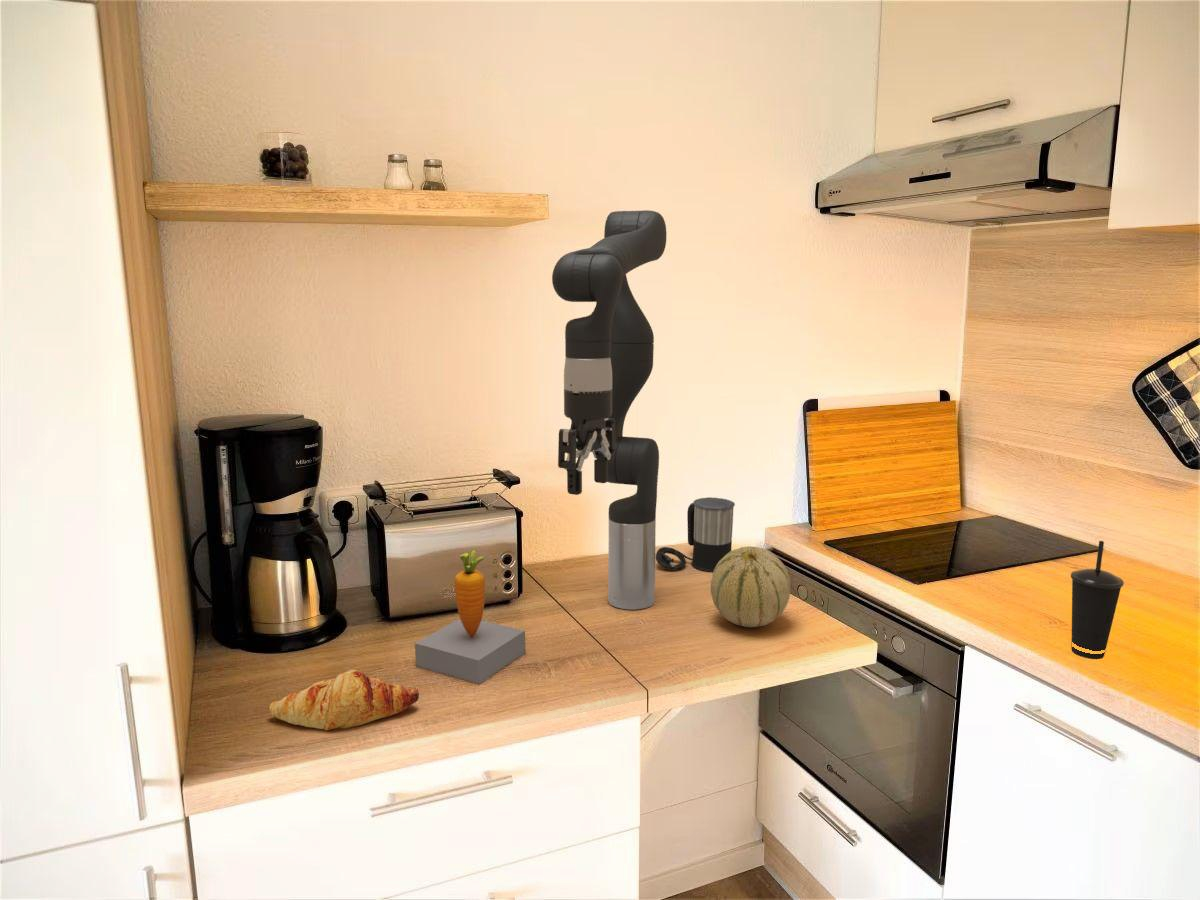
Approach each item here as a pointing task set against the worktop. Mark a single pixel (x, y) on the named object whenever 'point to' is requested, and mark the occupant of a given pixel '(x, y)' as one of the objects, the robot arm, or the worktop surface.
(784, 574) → the cantaloupe
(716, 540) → the milk frother
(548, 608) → the worktop surface
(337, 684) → the croissant
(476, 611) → the carrot
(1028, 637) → the worktop surface
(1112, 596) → the drinking cup
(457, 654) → the base block
